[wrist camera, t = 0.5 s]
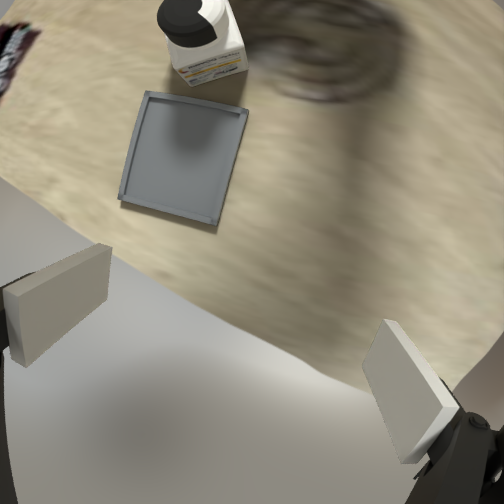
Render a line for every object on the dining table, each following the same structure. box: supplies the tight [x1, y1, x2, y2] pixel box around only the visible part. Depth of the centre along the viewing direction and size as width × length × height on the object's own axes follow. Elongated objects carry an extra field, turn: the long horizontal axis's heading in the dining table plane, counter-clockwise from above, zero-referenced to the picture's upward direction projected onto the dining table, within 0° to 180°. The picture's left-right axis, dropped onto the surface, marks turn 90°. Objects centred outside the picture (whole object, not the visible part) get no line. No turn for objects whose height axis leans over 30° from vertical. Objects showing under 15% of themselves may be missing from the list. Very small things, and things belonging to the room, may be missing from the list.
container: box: [157, 0, 249, 87], centre depth 28 cm, size 8×8×13 cm
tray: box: [117, 91, 249, 226], centre depth 36 cm, size 14×14×1 cm
